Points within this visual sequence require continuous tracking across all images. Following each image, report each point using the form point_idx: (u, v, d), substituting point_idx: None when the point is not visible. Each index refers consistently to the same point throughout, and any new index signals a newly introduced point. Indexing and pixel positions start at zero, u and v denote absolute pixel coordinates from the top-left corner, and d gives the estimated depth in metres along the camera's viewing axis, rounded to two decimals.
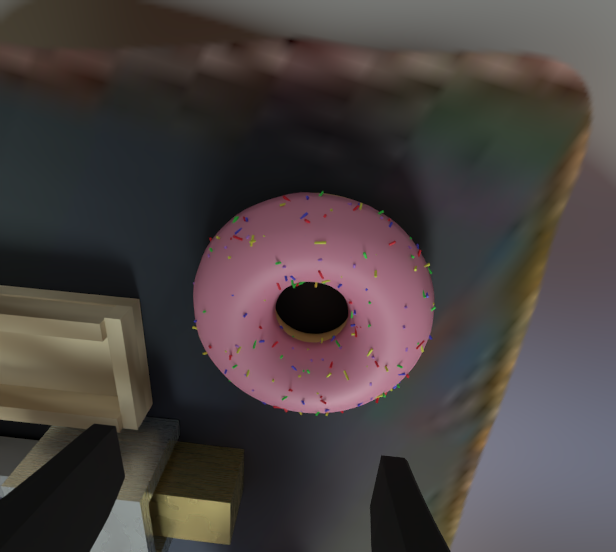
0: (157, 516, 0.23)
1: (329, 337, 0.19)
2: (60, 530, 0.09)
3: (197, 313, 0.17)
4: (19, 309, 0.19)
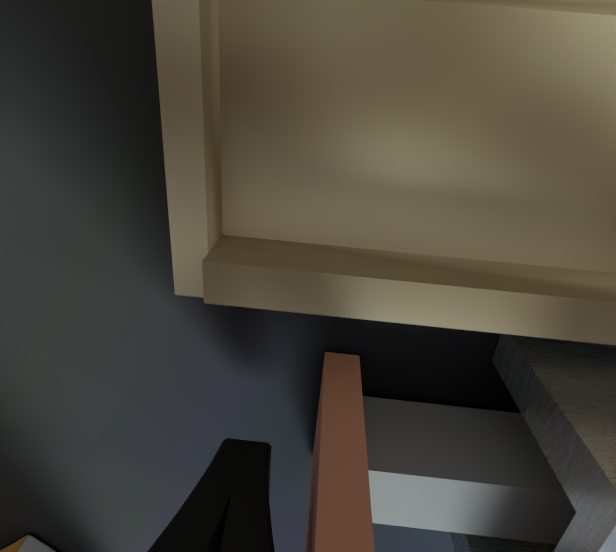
0: None
1: None
2: None
3: None
4: None
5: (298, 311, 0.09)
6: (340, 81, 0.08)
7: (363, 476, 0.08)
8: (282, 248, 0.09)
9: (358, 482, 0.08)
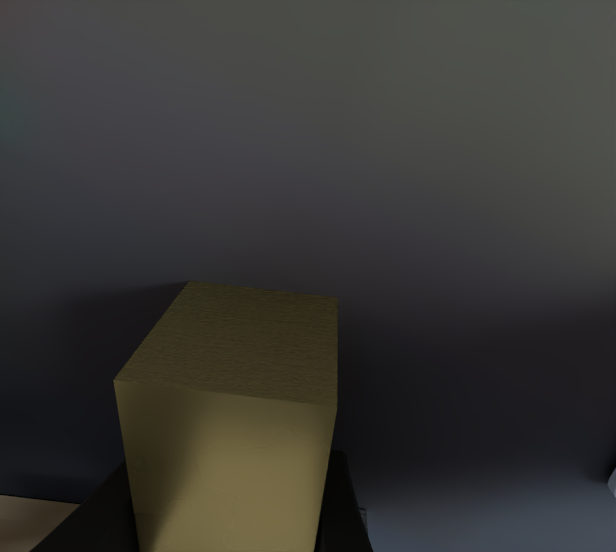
0: (228, 544, 0.08)
1: None
2: (132, 539, 0.09)
3: None
4: None
5: None
6: None
7: None
8: None
9: None
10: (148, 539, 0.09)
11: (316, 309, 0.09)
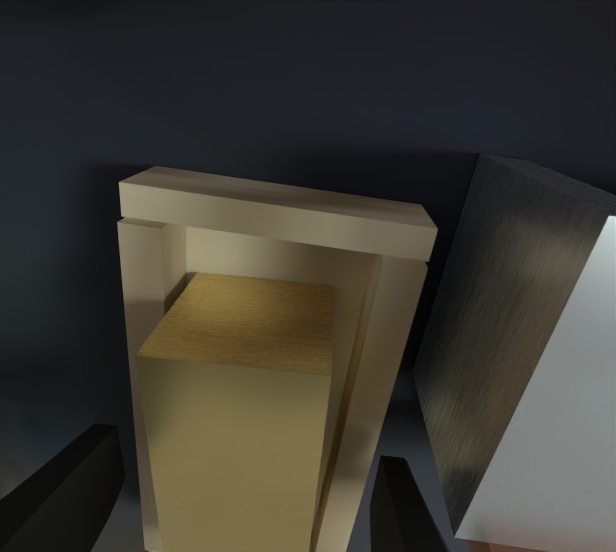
0: (237, 506, 0.09)
1: None
2: (60, 530, 0.09)
3: None
4: None
5: (346, 544, 0.13)
6: None
7: None
8: (317, 518, 0.15)
9: None
10: (165, 503, 0.10)
11: (314, 295, 0.10)
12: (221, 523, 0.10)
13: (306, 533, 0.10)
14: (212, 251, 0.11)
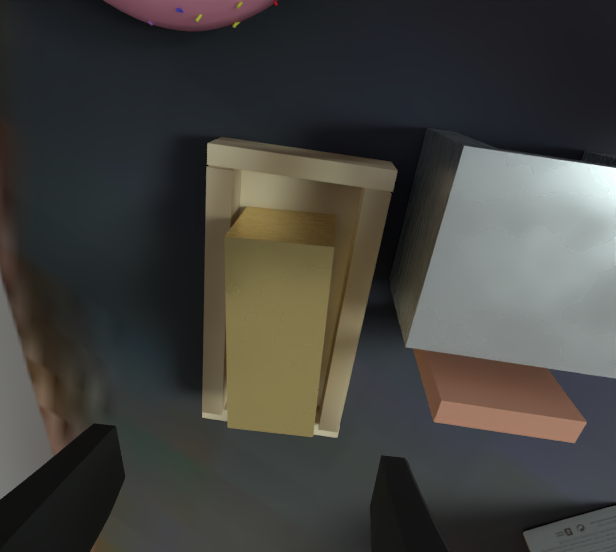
0: (276, 342, 0.15)
1: None
2: (61, 530, 0.09)
3: (161, 2, 0.12)
4: None
5: (344, 401, 0.19)
6: None
7: (427, 360, 0.16)
8: (323, 391, 0.21)
9: (427, 365, 0.16)
10: (232, 342, 0.16)
11: (322, 218, 0.16)
12: (265, 356, 0.16)
13: (318, 362, 0.16)
14: (257, 191, 0.17)
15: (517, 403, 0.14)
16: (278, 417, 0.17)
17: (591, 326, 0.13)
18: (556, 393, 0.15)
